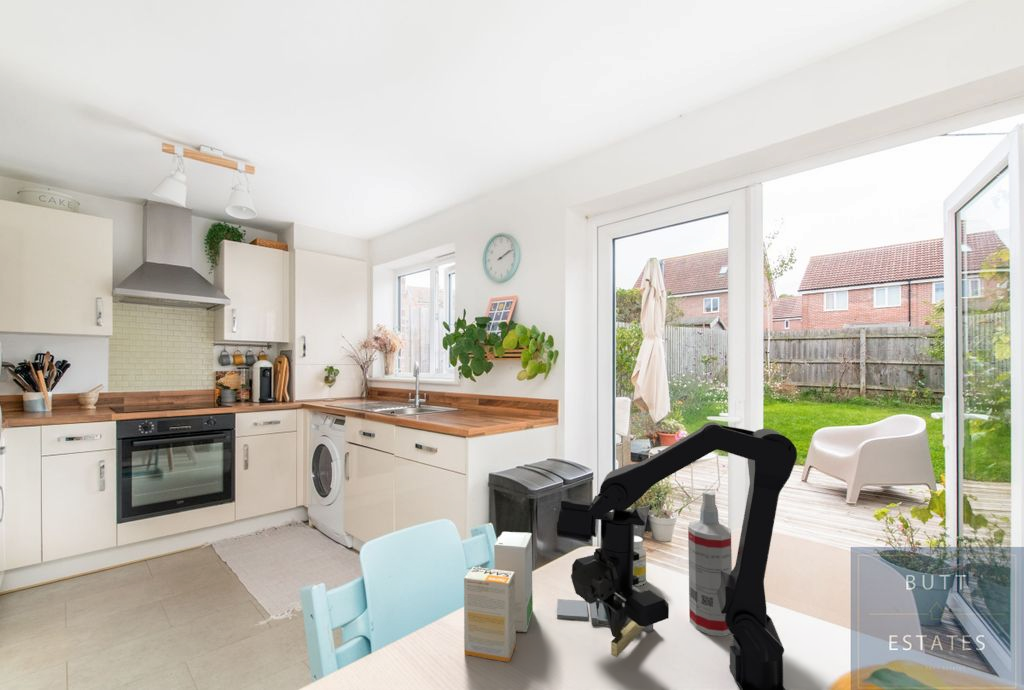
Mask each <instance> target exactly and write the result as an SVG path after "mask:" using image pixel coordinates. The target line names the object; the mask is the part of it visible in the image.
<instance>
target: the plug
mask: <svg viewBox="0 0 1024 690" xmlns="http://www.w3.org/2000/svg"><path fill="white" fill-rule="evenodd" d="M597 615H598V625H599V626H607V627H610V626H609V622H608V619H607V615H606V612H605V609H604V606H603V603H602V602H599V606H598V612H597ZM631 621H632V620H631V619H630V618H629V617H628V619H627V621H626V622H625V624H624V626H623V628H622V629H624V628H625V627H626V626H627V625H628V624H629V623H630V622H631Z"/></svg>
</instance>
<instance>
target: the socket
mask: <svg viewBox="0 0 1024 690" xmlns="http://www.w3.org/2000/svg"><path fill="white" fill-rule="evenodd" d="M599 602H601V601H600V600H599V599H598V600H597V601H596V602H595V603H592V604H590V603H588V605H589V613H590V614H589V615H590V623H591V625H594V626H595V625H596V626H598V625H599V624H598V608H597V607H599ZM642 631H644V632H647V633H651V632H653V631H654V624H651V625H649V626H646V627H645V628H644V629H643V630H642Z"/></svg>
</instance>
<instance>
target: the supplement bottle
mask: <svg viewBox="0 0 1024 690" xmlns="http://www.w3.org/2000/svg"><path fill="white" fill-rule="evenodd" d="M643 542H644V540H643V538H642V537H640V536H638V535H634V551H635V552H637V553H639V560H636V561H634V575H635V576H637V577H638V578H639V584H636V585H633V586H634V587H635V586H636V587H637V586H638V587H639V586H640V585H641V586H644V585H645V584H646V583H647V551H646V549H645V548H644V547H643V546H644V543H643ZM643 584H644V585H643Z"/></svg>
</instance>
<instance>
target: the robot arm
mask: <svg viewBox="0 0 1024 690" xmlns="http://www.w3.org/2000/svg"><path fill="white" fill-rule="evenodd" d="M716 450H718V451H721V452H726V453H729V454H731V455H735V456H738V457H741V458H745V459H747V467H748V476H749V484H748V485H749V487H748V492H747V496H746V497H747V498H746V503H745V509H744V515H743V520H742V527H741V532H740V536H739V544H738V549H737V554H736V560H735V565H734V567H733V568H732V572H731V573H730V575H729V574H727V573H725V572H723V571H721V585H720V588H719V589H718V591H717V596H718V601H719V605H720V610H721V613H722V614H724V618H725V622H726V626H727V628H728V629H729V631H730V632H731V635H732V645H730V646H729V665H728V666H729V672H730V674H731V676H732V678H733V679H734V681H735V682H736V683H737V684H738V687H739V688H740V690H786V688H785V687H784V660H783V659H784V658H783V657H784V656H783V655H784V653H785V648H784V645H783V643H782V641H781V638H780V636H779V634H778V631H777V629H776V626H775V624H774V621H773V620H772V618H771V617H770V615H769V614H767V601H766V599H767V598H766V591H765V577H766V576H765V575H766V571H767V565H768V559H769V552H770V549H771V548H770V547H771V542H772V537H773V536H772V535H773V531H774V525H775V519H776V514H777V507H778V502H779V498H780V497H779V496H780V494H781V491H782V489H783V488H784V487H785V485H786V484H787V482H788V481H789V479H790V477H791V474H792V472H793V469H794V467H795V465H796V462H797V459H798V450H797V447H796V446H795V444H794V443H793V442H792V440H791V439H789V438H788V437H787V436H785V435H784V434H782V433H781V432H778V431H777V430H774V429H772V428H761V429H757V430H755V431H754V430H749V429H745V428H739V427H735V426H728V425H723V424H719V423H718V422H715V421H711V422H710V421H709V422H706V423H704V424H702V426H701V427H700V428H699V429H697V430H695V431H693V432H692V433H690V434H688V435H686V436H685V437H683V438H681V439H679V440H678V441H676V442H674V443H672V444H670V445H669V446H667V447H665V448H664V449H662V450H661V451H659V452H657V453H655V454H653V455H652V456H650V457H648V458H646V459H645V460H642V461H639V462H635V463H631V464H628V465H625V466H622V467H618V468H616V469H614V470H611V471H610V472H608V473H606V475H605V478H604V479H603V481H602V483H601V485H600V487H599V488H600V489H599V493H598V494H597V495H595V496H594V498H593V499H592V501H591V502H590V501H583V500H576V499H571V498H566V497H564V498H562V499H561V501H560V508H559V512H558V520H557V521H556V534H557V538H560V539H564V540H565V539H566V540H570V541H571V540H572V541H578V542H583V543H584V542H585V543H591V541H592V540H593V538H597V537H598V533H599V521H600V547H598V548H595V550H594V552H593V555H587V556H583V557H579V558H576V559H575V560H574V561H573V563H572V565H571V567H572V568H571V574H570V578H571V583H572V585H573V589H574V592H575V594H576V595H577V596H579V597H580V598H582V599H583V601H586V602H587V604H589V603H590V604H592V603H595V602H596V601H597V600H598V599H599V600H600V601H601V602H602V603H603V606H604V609H605V612H606V615H607V619H608V622H609V626H608V627H609V629H610V633H611V636H612V637H613V638H615V637H616V636H617V635H618V634H619V633H620V632H621V631H622V630H623V629H624V628H623V626H624V624H625V622H626V621H627V619H628V617H629V618H630V619H631V620H633V621H634V622H635V623H637V624H638V625H639V626H643V627H646V626H649V625H651V624H653V625H654V624H656V623H659V622H663V621H665V620H667V619H669V616H670V615H669V614H670V613H669V612H670V610H669V609H670V608H669V603H668V601H666V600H665V599H664V598H663V597H661V596H659V595H658V594H656V593H655V592H653V591H652V590H650V589H646V590H643V591H641V590H640V589H638V588H637V587H635V586H634V585H636V584H639V578H638V577H637V576H635V575H634V561H636V560H639V553H637V552H635V551H634V536H635V526H639V527H640V526H641V527H644V526H645V525H646V520H647V519H646V518H647V516H646V515H645V514H644V513H643V512H642V511H641V510H640V509H639V507H638V506H637V505H636V506H634V508H632V509H629V508H630V507H631V506H632V505H634V504H635V503H636V502H637V501H639V499H641V498H642V497H643V496H644V495H645V494H646V493H647V492H648V491H649V490H650V489H651V488H652V487H653V486H655V484H657V483H659V482H660V481H662V480H664V479H666V478H669V477H670V476H672V475H673V474H675V473H676V472H679V471H680V470H682V469H684V468H686V467H687V466H689V465H692V464H693V463H695V462H697V461H698V460H700V459H702V458H703V457H706V456H707V455H708V454H711V453H712V452H715V451H716ZM628 509H629V510H628Z"/></svg>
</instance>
